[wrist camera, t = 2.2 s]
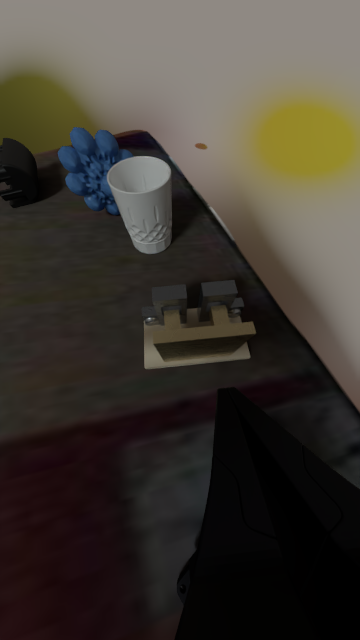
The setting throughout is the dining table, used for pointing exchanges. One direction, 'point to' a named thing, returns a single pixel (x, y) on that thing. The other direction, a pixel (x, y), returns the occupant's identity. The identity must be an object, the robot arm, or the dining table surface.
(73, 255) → the dining table surface
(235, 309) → the grey two-prong bracket
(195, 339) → the tan notched block
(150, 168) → the white cup
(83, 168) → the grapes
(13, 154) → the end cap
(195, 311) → the birch board
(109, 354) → the dining table surface
